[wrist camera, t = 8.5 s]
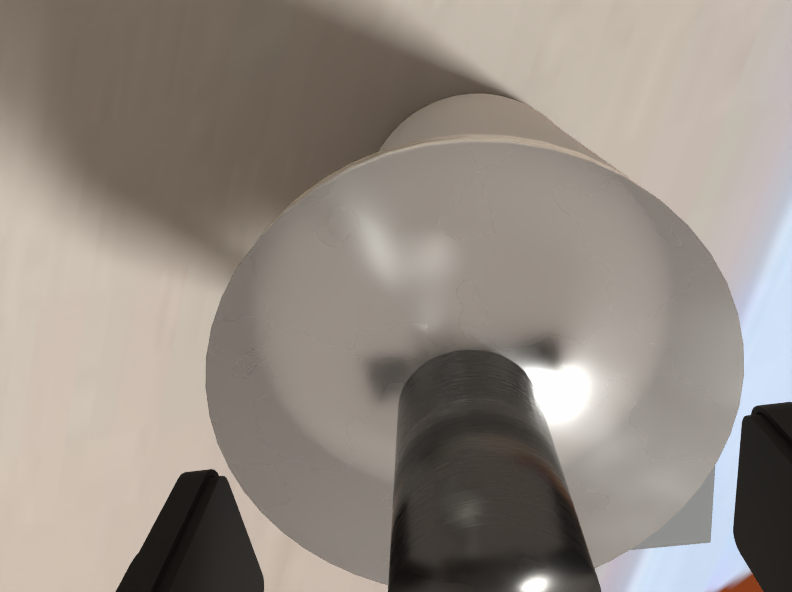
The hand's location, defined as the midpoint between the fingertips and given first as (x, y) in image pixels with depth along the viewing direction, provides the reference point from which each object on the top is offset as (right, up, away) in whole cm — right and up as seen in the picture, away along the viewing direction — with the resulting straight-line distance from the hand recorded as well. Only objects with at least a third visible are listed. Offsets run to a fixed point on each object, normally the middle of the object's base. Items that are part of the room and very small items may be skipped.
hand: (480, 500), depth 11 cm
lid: (0, +1, +4) cm, 4 cm away
